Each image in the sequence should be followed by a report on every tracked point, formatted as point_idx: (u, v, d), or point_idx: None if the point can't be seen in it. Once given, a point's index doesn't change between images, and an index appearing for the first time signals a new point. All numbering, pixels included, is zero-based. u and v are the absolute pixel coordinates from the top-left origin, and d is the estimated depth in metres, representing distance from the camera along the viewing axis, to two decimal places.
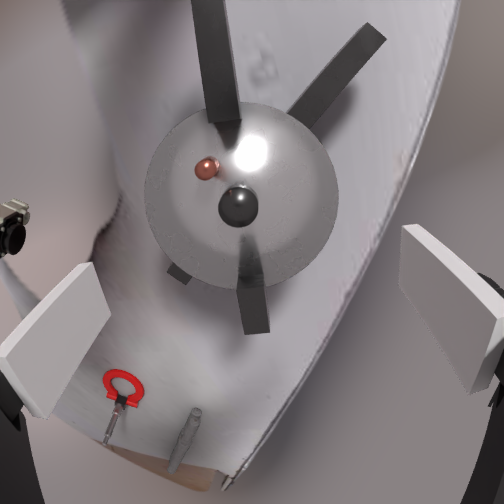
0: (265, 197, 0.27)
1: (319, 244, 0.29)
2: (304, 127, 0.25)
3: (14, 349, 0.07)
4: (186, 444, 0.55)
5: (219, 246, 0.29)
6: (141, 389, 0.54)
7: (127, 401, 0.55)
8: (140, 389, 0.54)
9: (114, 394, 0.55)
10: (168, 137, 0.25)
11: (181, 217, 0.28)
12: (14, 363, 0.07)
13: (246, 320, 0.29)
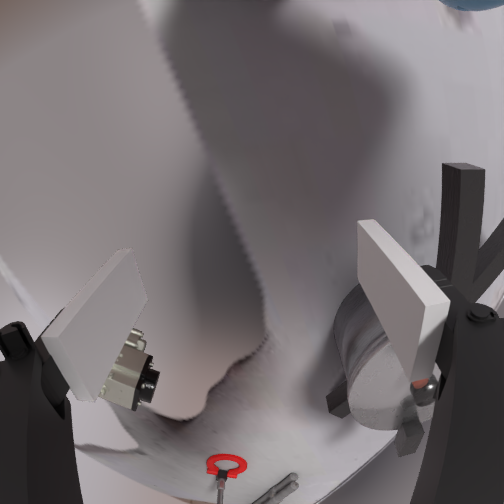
0: None
1: None
2: None
3: (66, 329, 0.08)
4: (279, 500, 0.57)
5: (397, 409, 0.31)
6: (246, 466, 0.55)
7: (228, 474, 0.57)
8: (245, 466, 0.55)
9: (215, 470, 0.56)
10: (388, 349, 0.27)
11: (378, 398, 0.30)
12: (66, 343, 0.08)
13: (404, 450, 0.31)
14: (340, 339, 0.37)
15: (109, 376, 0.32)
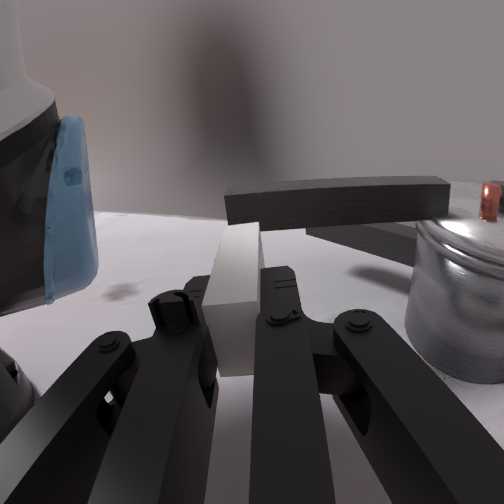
0: None
1: None
2: None
3: (231, 295, 0.09)
4: None
5: None
6: None
7: None
8: None
9: None
10: (480, 236, 0.17)
11: None
12: None
13: None
14: None
15: None
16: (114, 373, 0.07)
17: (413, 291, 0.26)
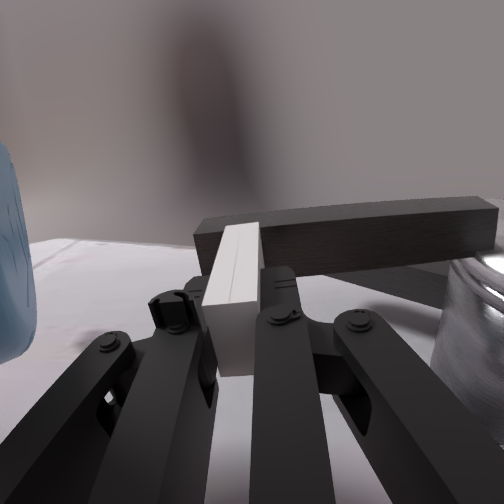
0: None
1: None
2: None
3: (231, 295, 0.09)
4: None
5: None
6: None
7: None
8: None
9: None
10: None
11: None
12: None
13: None
14: None
15: None
16: (114, 373, 0.07)
17: (444, 343, 0.19)
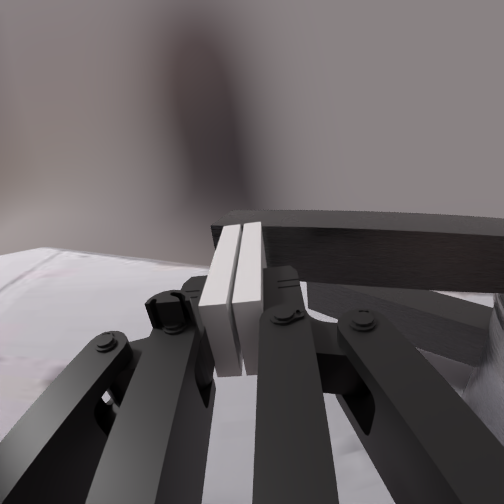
0: None
1: None
2: None
3: (227, 296, 0.09)
4: None
5: None
6: None
7: None
8: None
9: None
10: None
11: None
12: (228, 311, 0.09)
13: None
14: None
15: None
16: (111, 373, 0.07)
17: (478, 414, 0.13)
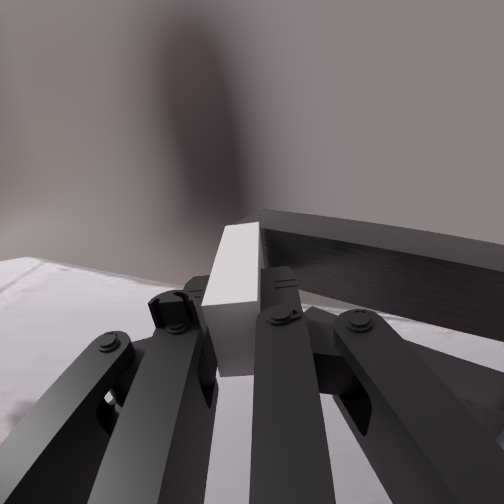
0: None
1: None
2: None
3: (230, 295, 0.09)
4: None
5: None
6: None
7: None
8: None
9: None
10: None
11: None
12: None
13: None
14: None
15: None
16: (114, 373, 0.07)
17: None
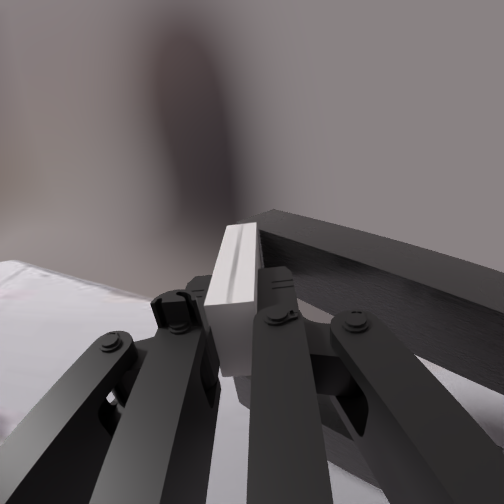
0: None
1: None
2: None
3: (233, 295, 0.09)
4: None
5: None
6: None
7: None
8: None
9: None
10: None
11: None
12: None
13: None
14: None
15: None
16: (116, 373, 0.07)
17: None
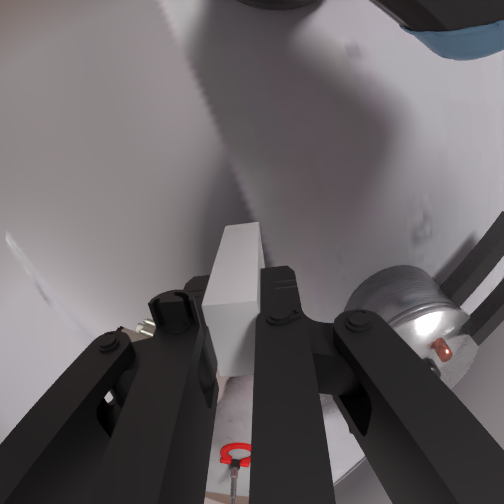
0: None
1: None
2: (474, 356, 0.33)
3: (231, 295, 0.09)
4: None
5: None
6: None
7: (240, 463, 0.61)
8: None
9: (229, 460, 0.61)
10: (445, 313, 0.30)
11: None
12: None
13: None
14: None
15: None
16: (114, 373, 0.07)
17: (418, 280, 0.38)
